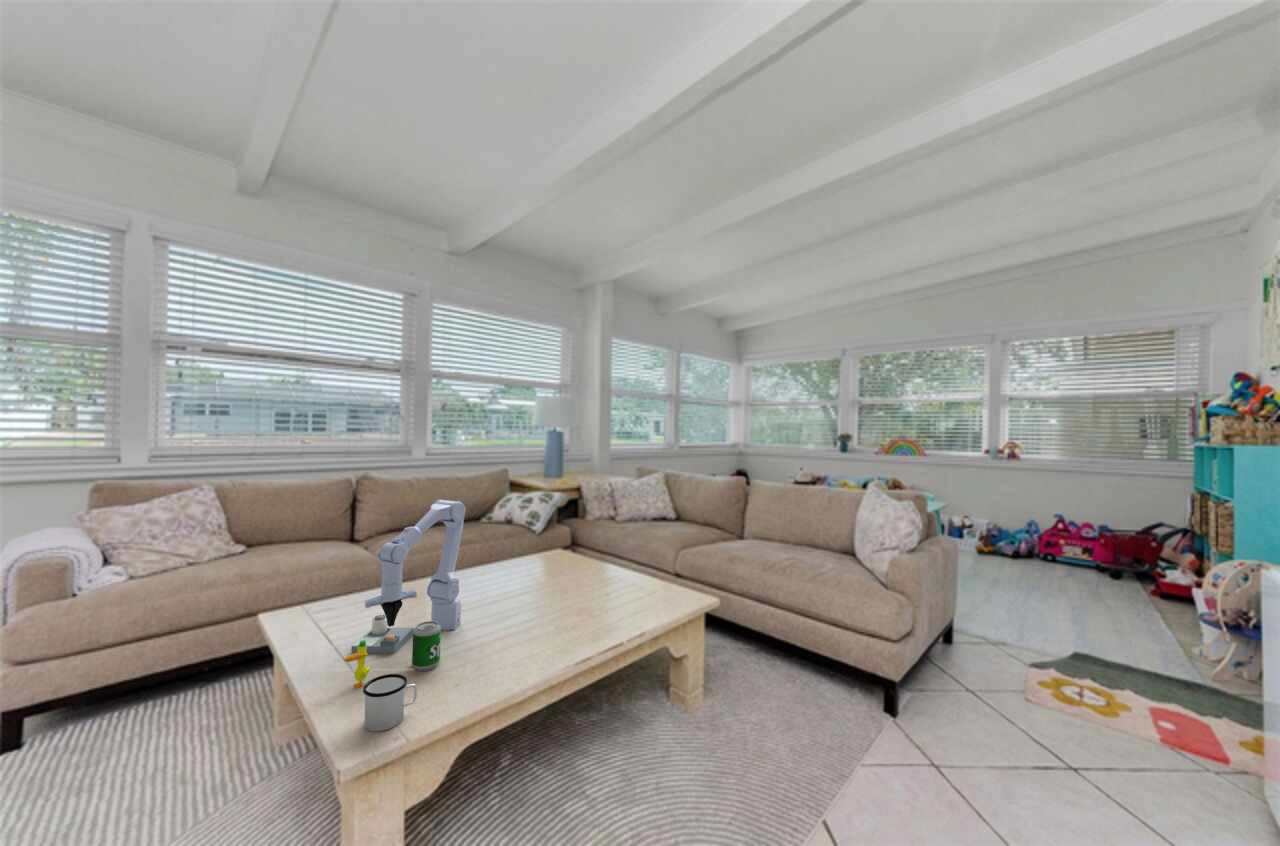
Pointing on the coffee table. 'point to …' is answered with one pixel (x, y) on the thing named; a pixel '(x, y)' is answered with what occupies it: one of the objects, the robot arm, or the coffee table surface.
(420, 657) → the soda can
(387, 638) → the plunger
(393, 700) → the mug
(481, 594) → the coffee table surface
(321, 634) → the coffee table surface
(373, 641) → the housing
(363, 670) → the toy figure
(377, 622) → the cylinder
